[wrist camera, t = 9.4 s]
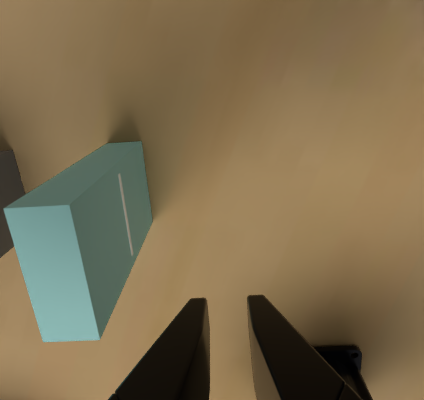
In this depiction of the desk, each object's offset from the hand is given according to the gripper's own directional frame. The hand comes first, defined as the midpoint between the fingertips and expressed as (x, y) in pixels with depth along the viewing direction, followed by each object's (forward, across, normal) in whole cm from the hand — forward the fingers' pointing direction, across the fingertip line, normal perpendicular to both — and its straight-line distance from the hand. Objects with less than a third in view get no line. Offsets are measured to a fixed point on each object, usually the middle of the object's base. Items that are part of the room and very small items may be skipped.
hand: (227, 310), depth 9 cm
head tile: (+12, +6, 0) cm, 13 cm away
